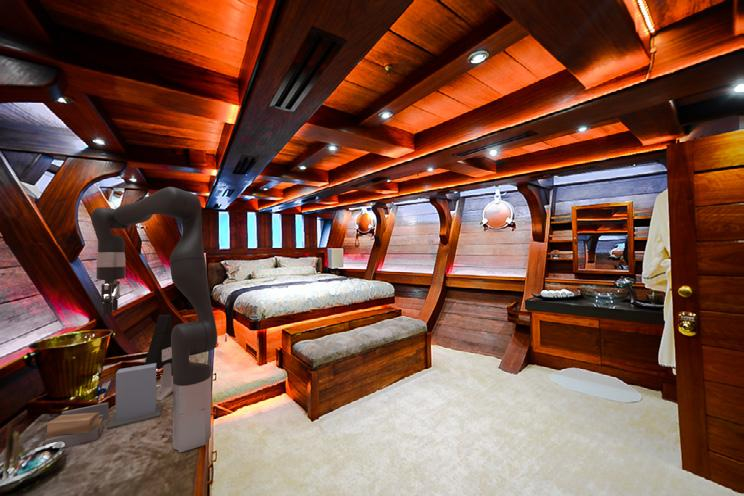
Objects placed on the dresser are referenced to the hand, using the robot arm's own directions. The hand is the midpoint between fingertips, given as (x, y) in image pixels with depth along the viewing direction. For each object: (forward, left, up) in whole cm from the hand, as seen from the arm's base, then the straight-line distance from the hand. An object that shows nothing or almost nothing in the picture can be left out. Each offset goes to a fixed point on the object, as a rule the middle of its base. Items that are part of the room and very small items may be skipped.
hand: (110, 312), depth 102 cm
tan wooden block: (-13, +5, -33) cm, 36 cm away
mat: (-10, -8, -33) cm, 36 cm away
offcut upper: (-18, +5, -30) cm, 35 cm away
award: (+4, -16, -34) cm, 37 cm away
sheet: (-11, -9, -33) cm, 35 cm away
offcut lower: (-16, +4, -34) cm, 37 cm away
